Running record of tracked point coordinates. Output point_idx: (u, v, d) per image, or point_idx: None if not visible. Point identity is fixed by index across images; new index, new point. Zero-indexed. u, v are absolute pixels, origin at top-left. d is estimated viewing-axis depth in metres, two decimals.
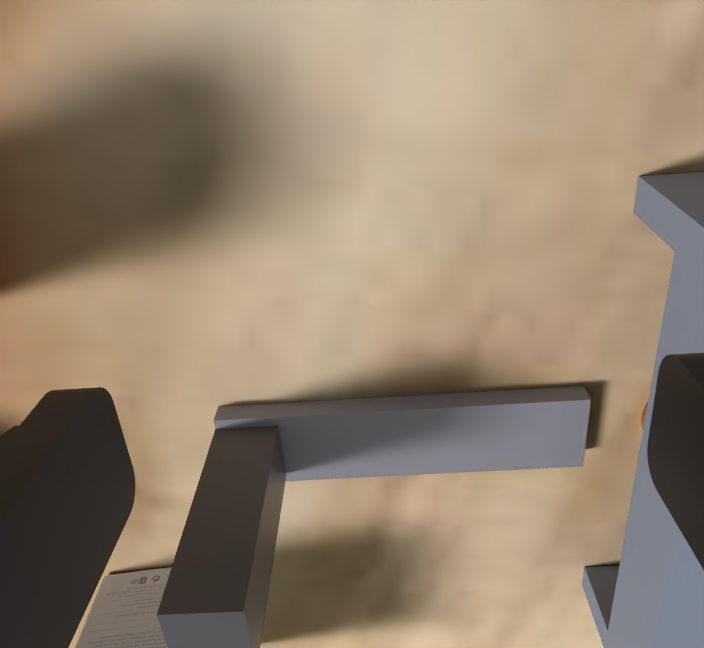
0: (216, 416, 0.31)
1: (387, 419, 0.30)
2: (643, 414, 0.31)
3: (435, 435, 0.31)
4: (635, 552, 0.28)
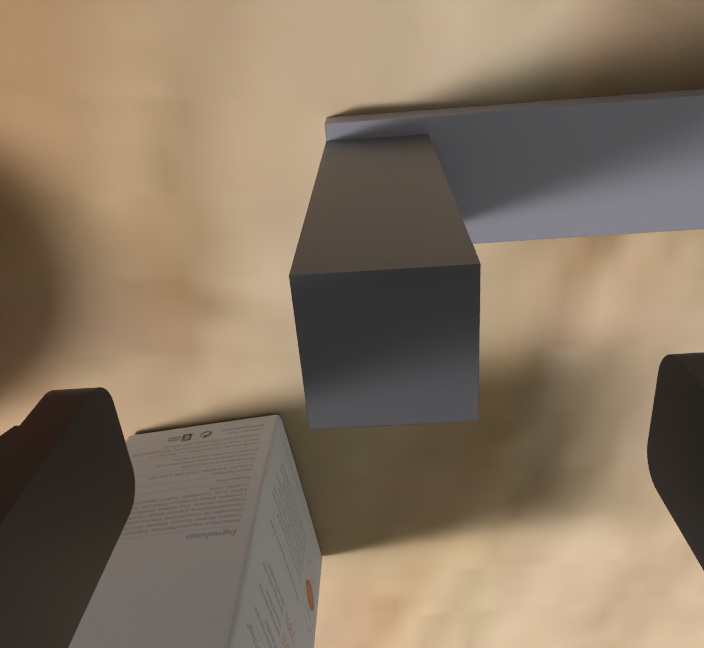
0: (327, 121, 0.19)
1: (608, 120, 0.19)
2: None
3: (681, 154, 0.19)
4: None
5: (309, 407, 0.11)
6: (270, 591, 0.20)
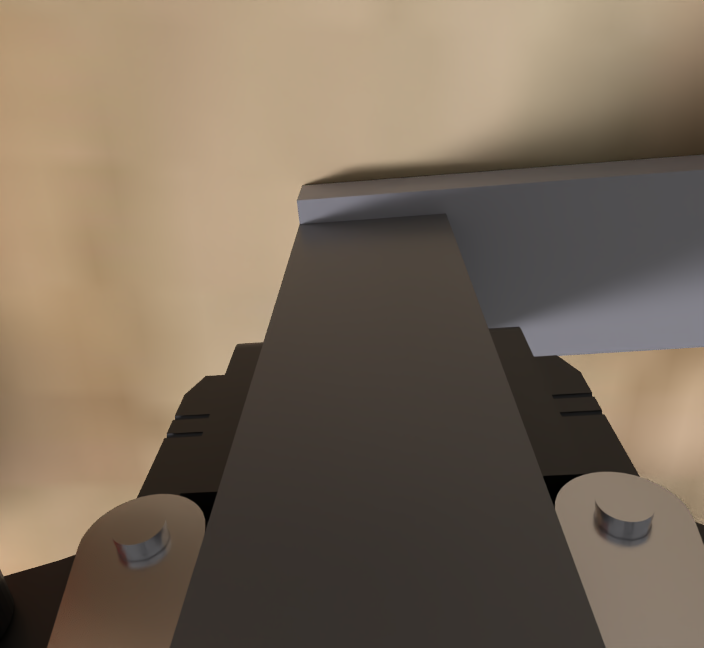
0: (301, 195, 0.13)
1: None
2: None
3: None
4: None
5: None
6: None
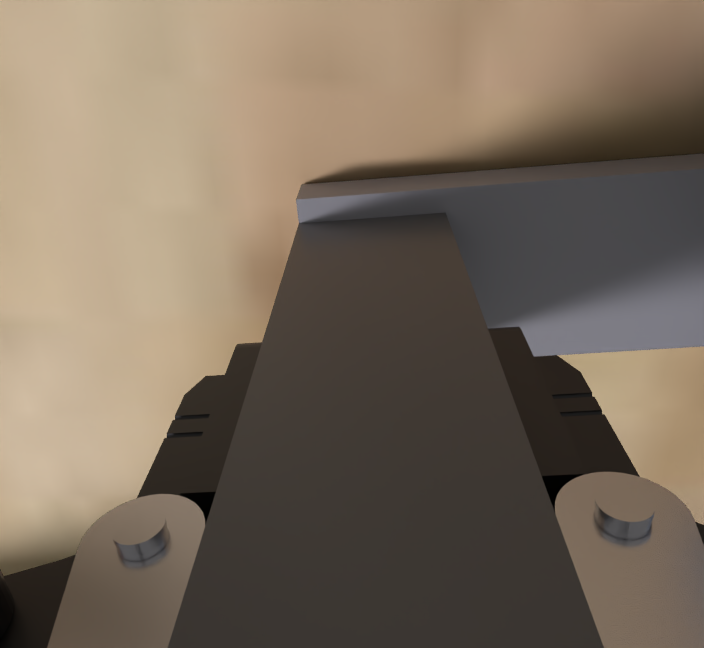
0: (301, 195, 0.13)
1: None
2: None
3: None
4: None
5: None
6: None
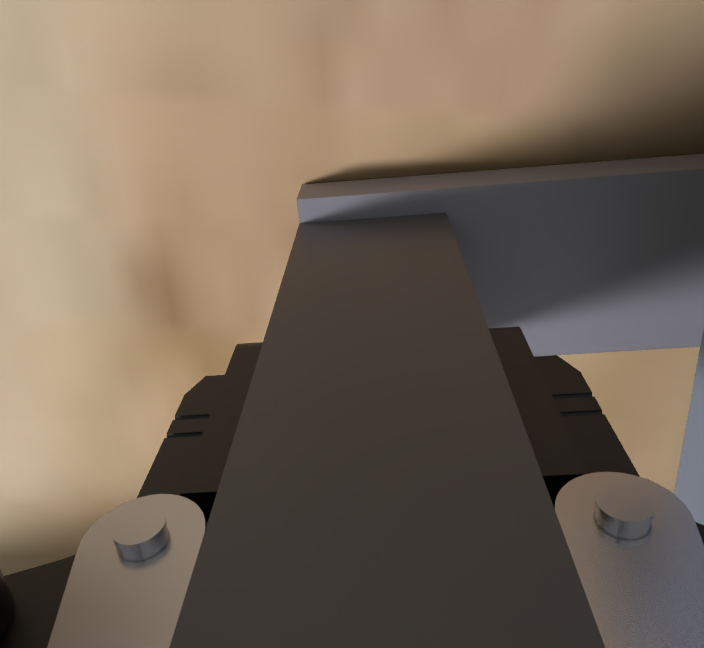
0: (301, 195, 0.13)
1: None
2: None
3: None
4: None
5: None
6: None
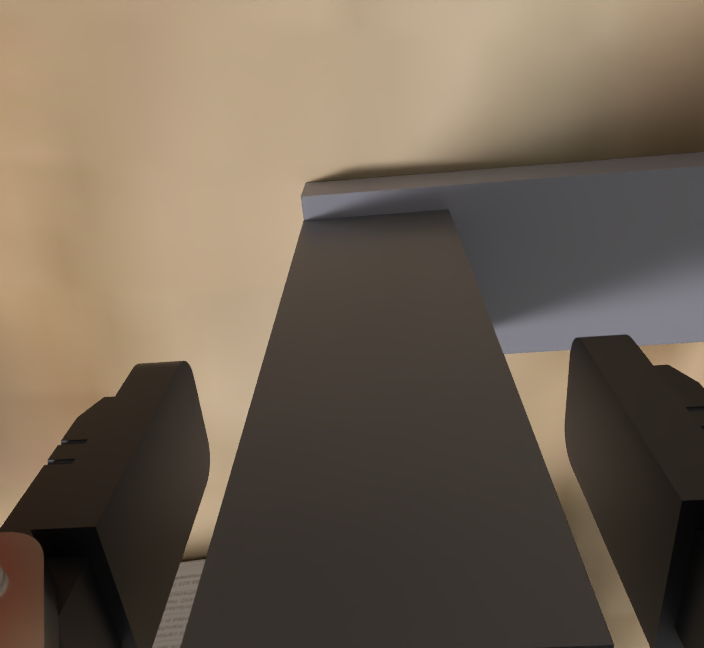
0: (305, 192, 0.13)
1: None
2: None
3: None
4: None
5: None
6: None
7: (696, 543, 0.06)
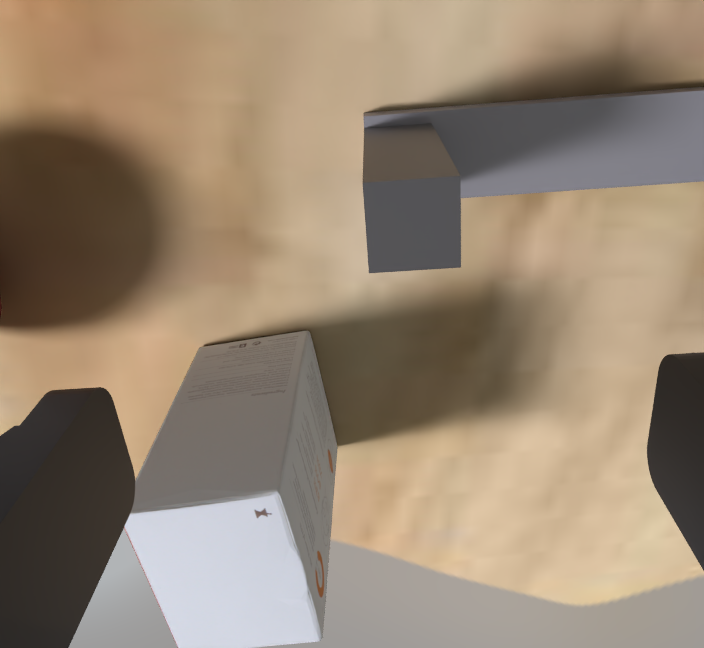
0: (365, 115, 0.29)
1: (549, 113, 0.28)
2: None
3: (598, 136, 0.29)
4: None
5: (369, 259, 0.21)
6: (307, 433, 0.29)
7: None
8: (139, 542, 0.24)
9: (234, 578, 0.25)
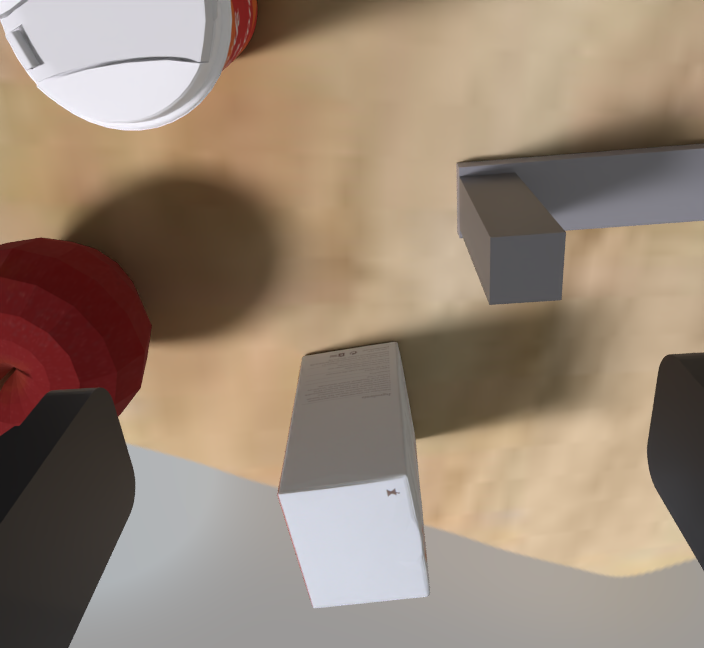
0: (459, 166, 0.35)
1: (612, 164, 0.34)
2: None
3: (653, 182, 0.35)
4: None
5: (490, 294, 0.27)
6: (408, 428, 0.36)
7: None
8: (291, 516, 0.30)
9: (364, 545, 0.31)
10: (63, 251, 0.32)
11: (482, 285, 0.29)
